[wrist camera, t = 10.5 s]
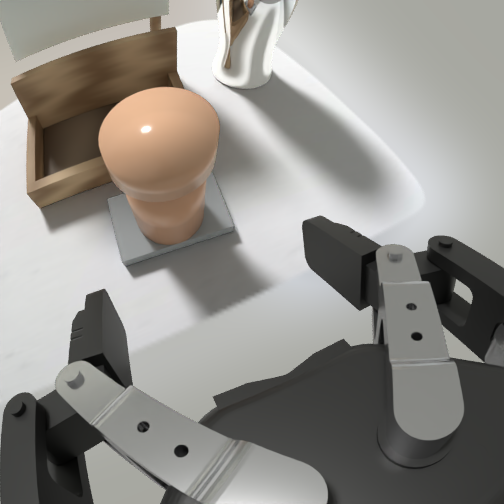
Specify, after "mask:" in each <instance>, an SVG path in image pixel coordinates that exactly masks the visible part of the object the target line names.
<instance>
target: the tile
mask: <svg viewBox="0 0 504 504" xmlns="http://www.w3.org/2000/svg"><path fill="white" fill-rule="evenodd" d="M107 200H108V205H109V210H110V214H111V219H112V223H113V227H114V232H115V236H116V240H117V244H118V248H119V252H120V256H121V260H122V263H123V264H124V265H125V266H128V265H131V264H134V263H137V262H140V261H143V260H146V259H149V258H152V257H155V256H158V255H161V254H164V253H167V252H170V251H173V250H176V249H179V248H182V247H185V246H188V245H192V244H195V243H198V242H201V241H204V240H207V239H210V238H213V237H216V236H220V235H223V234H226V233H229V232H232V231H233V228H234V224H233V222H232V219H231V217H230V214H229V212H228V209H227V207H226V204H225V202H224V199H223V197H222V194H221V192H220V189H219V187H218V184H217V182H216V179H215V177H214V174H213V172H211V174H210V175H209V177H208V178H207V179H206V193H205V207H204V218H203V221H202V224H201V226H200V228H199V229H198V231H197V232H196V233H195V234H194V235H193V236H192V237H191V238H189V239H188V240H186V241H184V242H181V243H178V244H174V245H163V244H158V243H155V242H153V241H151V240H149V239H148V238H147V237H145V236H144V234H143V233H142V232H141V231H140V229H139V227H138V225H137V222H136V220H135V217H134V215H133V212H132V210H131V207H130V205H129V202H128V200H127V197H126V194H125V193H123V194H120V195H117V196H114V197H111V198H108V199H107Z"/></svg>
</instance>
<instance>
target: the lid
mask: <svg viewBox="0 0 504 504" xmlns="http://www.w3.org/2000/svg"><path fill="white" fill-rule="evenodd" d="M168 14H169V0H0V22H1V24H2V27H3V30H4V33H5V35H6V38H7V41H8V43H9V46H10V48H11V51H12V53H13V56H14V58H15V61H19V60H21V59H23V58H25V57H27V56H30V55H32V54H34V53H37V52H39V51H42V50H44V49H47V48H49V47H51V46H54V45H57V44H59V43H62V42H65V41H68V40H71V39H74V38H76V37H79V36H83V35H86V34H89V33H92V32H95V31H99V30H102V29H106V28H109V27H113V26H117V25H121V24H125V23H129V22H133V21H138V20H142V19H146V18H152V17H157V16H162V15H168Z"/></svg>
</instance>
